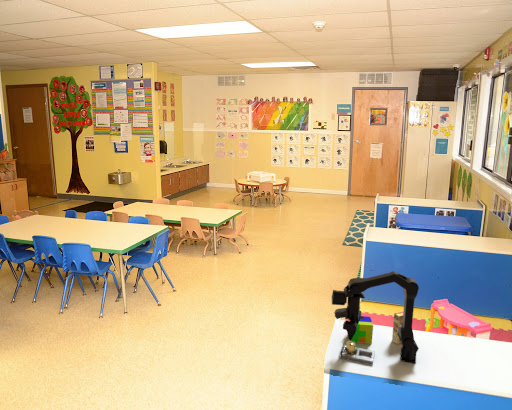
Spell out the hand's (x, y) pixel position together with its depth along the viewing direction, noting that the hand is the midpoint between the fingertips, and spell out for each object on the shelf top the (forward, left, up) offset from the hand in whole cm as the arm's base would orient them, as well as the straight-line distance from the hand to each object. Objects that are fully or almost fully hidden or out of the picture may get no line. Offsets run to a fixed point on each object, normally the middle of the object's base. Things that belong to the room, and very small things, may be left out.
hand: (351, 336), depth 204 cm
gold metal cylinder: (0, 0, -10) cm, 10 cm away
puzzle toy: (-3, -19, -10) cm, 22 cm away
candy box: (-23, -24, -10) cm, 35 cm away
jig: (-4, 0, -10) cm, 10 cm away
